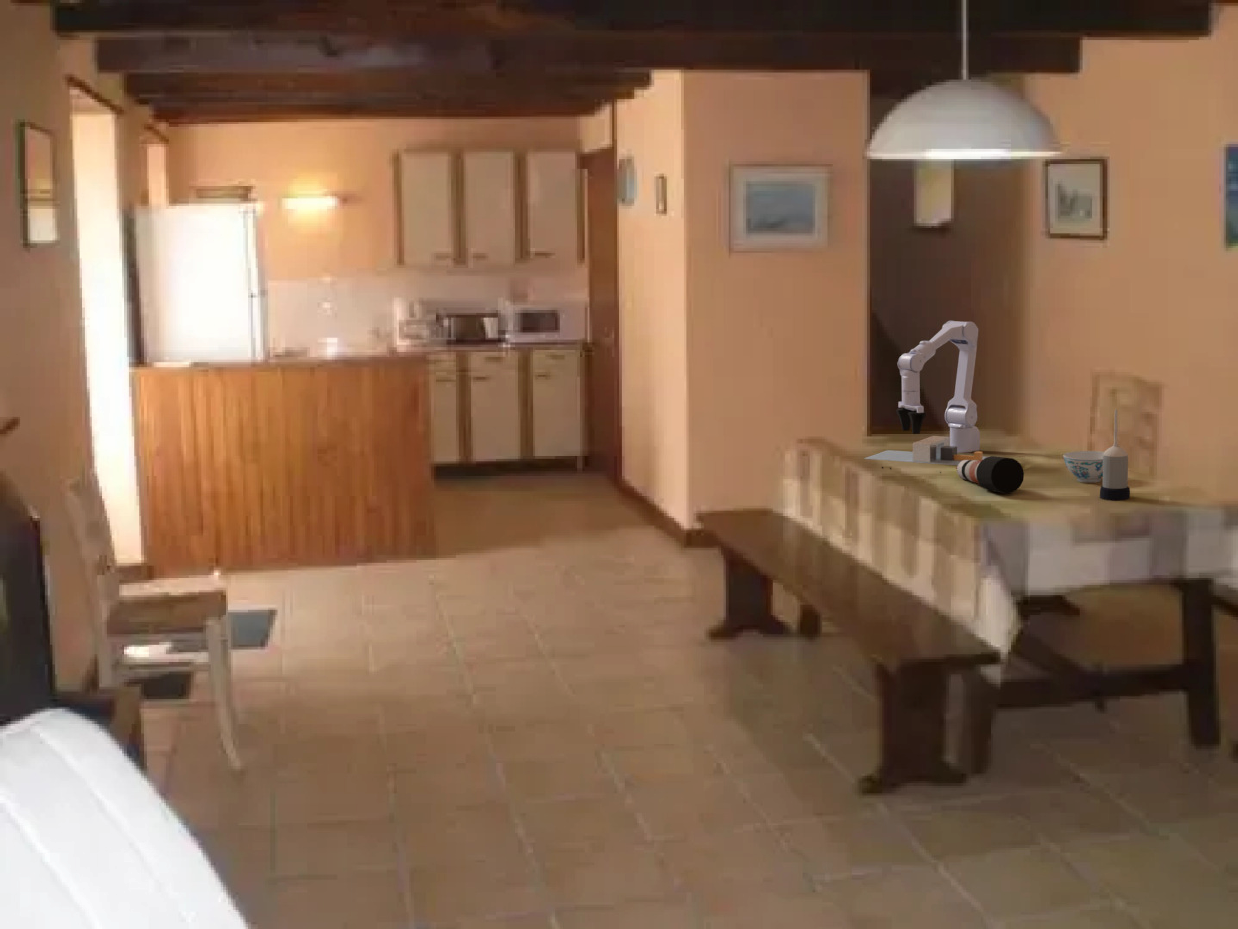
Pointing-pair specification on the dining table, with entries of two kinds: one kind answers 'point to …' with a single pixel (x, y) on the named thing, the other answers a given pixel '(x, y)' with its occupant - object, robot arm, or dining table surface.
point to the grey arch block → (929, 448)
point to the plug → (951, 455)
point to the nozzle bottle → (1115, 471)
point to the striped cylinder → (993, 473)
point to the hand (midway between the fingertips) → (911, 432)
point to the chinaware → (1085, 465)
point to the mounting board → (908, 457)
